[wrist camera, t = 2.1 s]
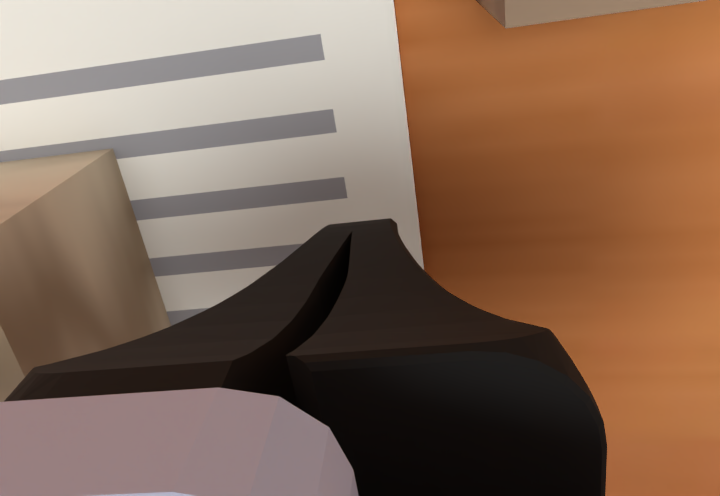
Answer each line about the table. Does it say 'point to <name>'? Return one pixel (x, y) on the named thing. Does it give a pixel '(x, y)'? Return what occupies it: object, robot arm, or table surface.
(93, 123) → the letter
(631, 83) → the table surface
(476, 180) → the table surface
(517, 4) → the walnut block
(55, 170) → the beech block
